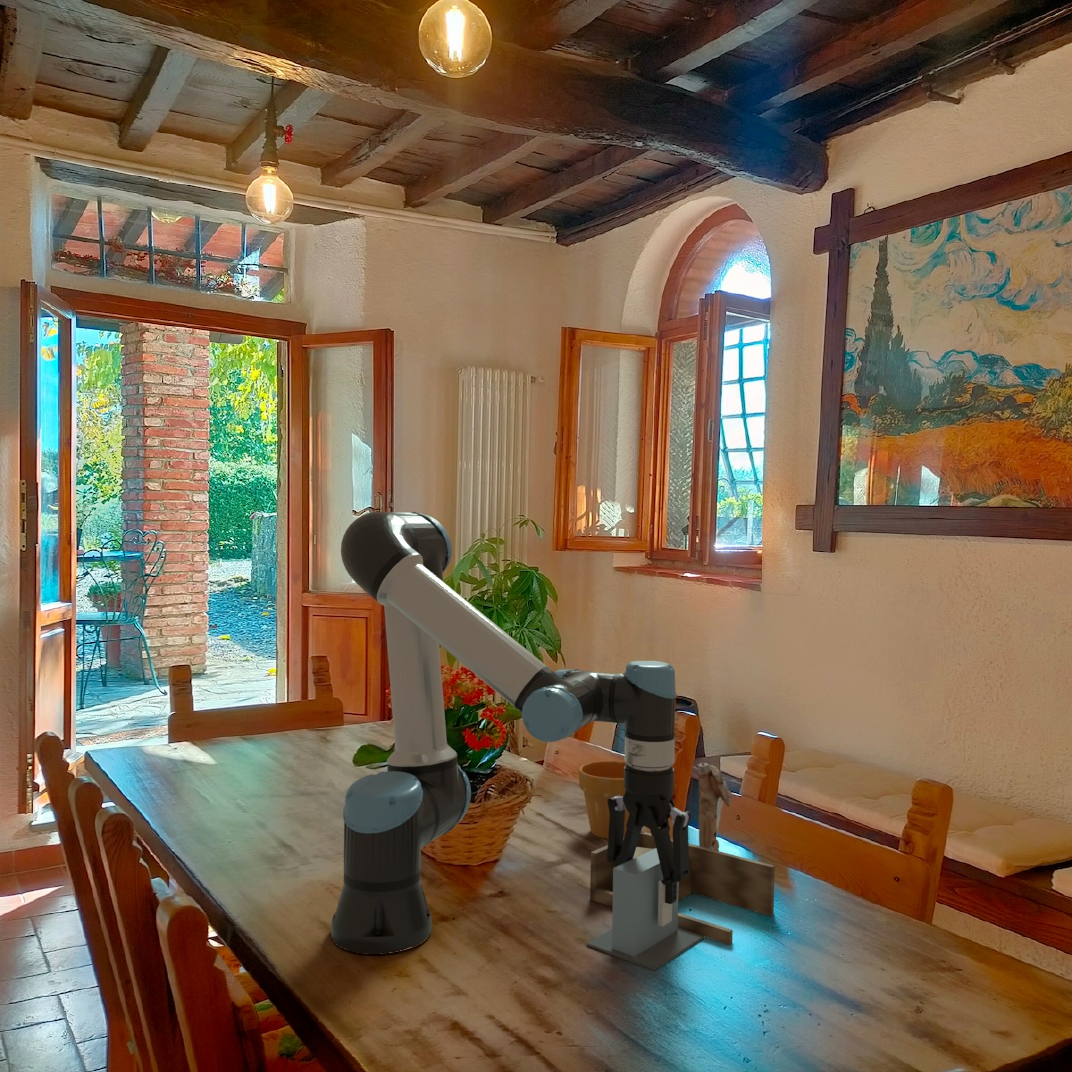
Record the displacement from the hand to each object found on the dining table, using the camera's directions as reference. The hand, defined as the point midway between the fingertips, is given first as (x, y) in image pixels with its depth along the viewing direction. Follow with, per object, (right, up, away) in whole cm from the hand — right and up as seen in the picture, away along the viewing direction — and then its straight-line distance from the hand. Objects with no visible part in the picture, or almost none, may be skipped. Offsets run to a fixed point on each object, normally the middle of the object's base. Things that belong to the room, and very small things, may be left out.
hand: (646, 916), depth 147 cm
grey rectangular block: (0, -3, 0) cm, 3 cm away
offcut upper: (+2, 0, +18) cm, 18 cm away
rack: (+7, -4, +14) cm, 16 cm away
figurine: (+17, -4, +30) cm, 34 cm away
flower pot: (-1, -3, +51) cm, 51 cm away
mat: (0, -4, 0) cm, 4 cm away
